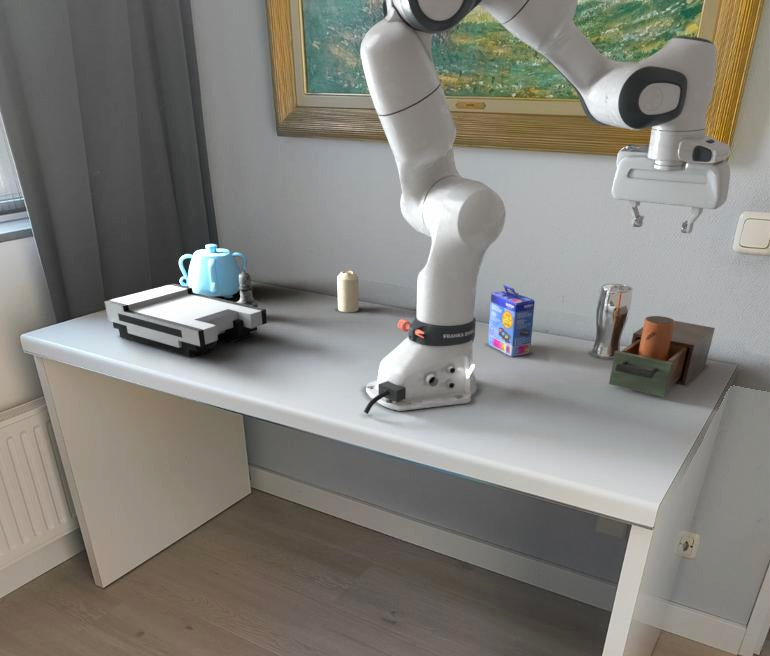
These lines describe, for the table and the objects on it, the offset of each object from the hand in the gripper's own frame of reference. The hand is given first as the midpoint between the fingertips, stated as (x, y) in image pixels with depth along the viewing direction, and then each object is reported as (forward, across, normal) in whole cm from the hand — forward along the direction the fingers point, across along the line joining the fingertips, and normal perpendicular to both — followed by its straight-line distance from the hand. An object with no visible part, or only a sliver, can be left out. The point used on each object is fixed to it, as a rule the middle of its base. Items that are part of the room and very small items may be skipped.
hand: (661, 229), depth 133 cm
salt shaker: (+28, -95, -24) cm, 102 cm away
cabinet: (+30, +3, +9) cm, 32 cm away
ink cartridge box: (+30, -30, -2) cm, 42 cm away
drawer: (+29, +4, -5) cm, 29 cm away
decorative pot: (+29, -119, -15) cm, 123 cm away
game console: (+27, -93, -44) cm, 106 cm away
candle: (+30, -80, -2) cm, 85 cm away
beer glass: (+30, -11, +9) cm, 34 cm away
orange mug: (+27, +4, -4) cm, 28 cm away
